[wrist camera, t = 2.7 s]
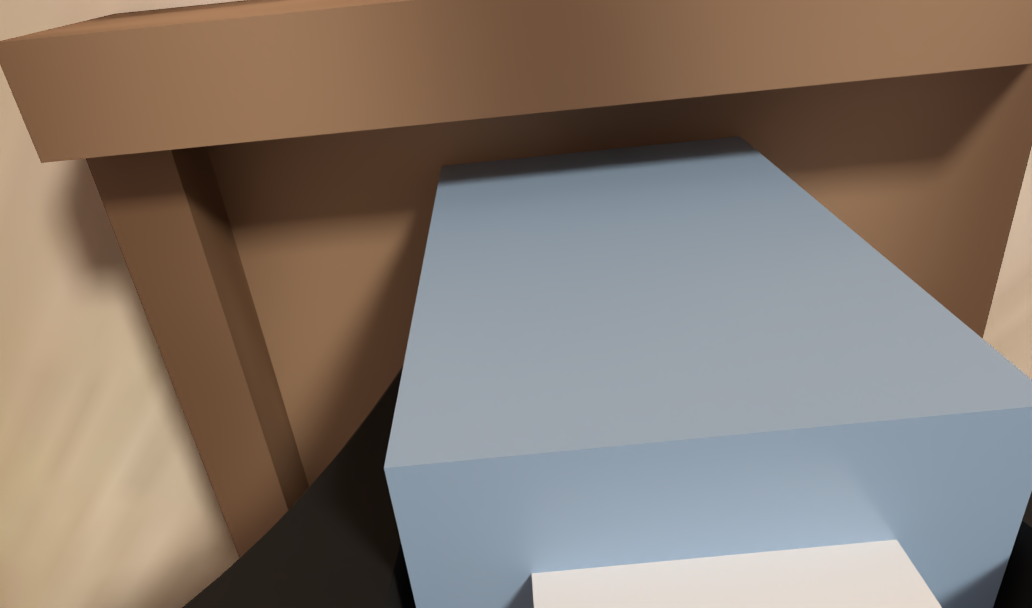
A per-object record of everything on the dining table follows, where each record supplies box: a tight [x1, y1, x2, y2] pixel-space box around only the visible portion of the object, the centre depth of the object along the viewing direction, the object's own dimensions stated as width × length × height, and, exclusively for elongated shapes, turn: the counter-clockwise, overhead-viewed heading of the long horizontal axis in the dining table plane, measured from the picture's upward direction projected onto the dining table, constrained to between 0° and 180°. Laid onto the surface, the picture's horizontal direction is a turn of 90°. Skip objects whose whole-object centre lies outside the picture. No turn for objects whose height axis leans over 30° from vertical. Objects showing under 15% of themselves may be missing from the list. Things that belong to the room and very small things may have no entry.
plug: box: [384, 136, 1032, 608], centre depth 8 cm, size 4×6×7 cm, turn 5°
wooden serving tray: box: [0, 0, 1032, 558], centre depth 10 cm, size 12×10×3 cm
